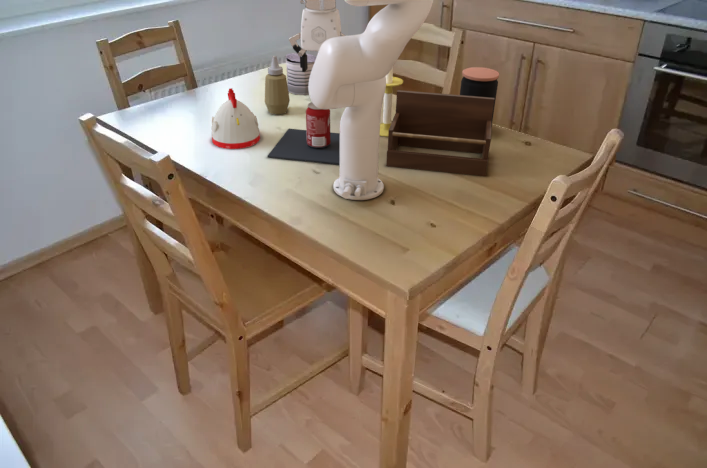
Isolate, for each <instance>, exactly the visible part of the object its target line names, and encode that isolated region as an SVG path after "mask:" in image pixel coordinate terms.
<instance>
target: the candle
mask: <svg viewBox="0 0 707 468" xmlns="http://www.w3.org/2000/svg"><path fill="white" fill-rule="evenodd" d="M403 84H404V80H403V79H402V78H400V77H398V76H394V67H393V68H392V69H391V71H390V72H389V73H388V74H387V75H386V89H385V94H384V98H383V105H382V109H383V111H382V122H380V135H379V137H385V138H386V137H387V138H388V133H389V128H390V125H391V123H392V111H393V92H394V91H393V90H394V88H395V87H399V86H402V85H403Z"/></svg>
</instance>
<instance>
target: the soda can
mask: <svg viewBox="0 0 707 468" xmlns="http://www.w3.org/2000/svg"><path fill="white" fill-rule="evenodd" d="M305 127H306V128H305V130H306V133H307V145H309V146H310V147H312V148H316V149H321V148H325V147H327V146H329V145H330V132H331V109H319V108H317V107H316V106H315V105H314V104H313V103H312V101H311V102H309V103H308V104H307V108H306V110H305Z"/></svg>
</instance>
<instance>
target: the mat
mask: <svg viewBox="0 0 707 468" xmlns="http://www.w3.org/2000/svg"><path fill="white" fill-rule="evenodd" d="M267 158H268V159H277V160H287V161H295V162H305V163H316V164H324V165H334V166H340V132H331V131H330V145H329V146H327V147H325V148H321V149H316V148H312V147H310V146H309V145H307V133H306V129H299V128H298V129H297V128H288V129H287V130H286V131H285V133H284V134H283V135H282V136H281V138H280V139H279V140H278V142H277V143H276V144H275V146H274V147H273V148H272V149H271V151H270V152H269V153H268V154H267Z"/></svg>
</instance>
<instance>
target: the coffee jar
mask: <svg viewBox="0 0 707 468" xmlns="http://www.w3.org/2000/svg"><path fill="white" fill-rule="evenodd" d="M461 75H462V77H461V80H460V89H459V95H464V96H476V97H489V98H494V106H493V112H492V119H491V128H493V127H492V126H493V122H494V121H493V120H494V114H495V113H494V112H495V107H496V100H497V93H498V86H499V80H498V79H499V78H500V73H499V71H498V70H496V69H492V68H489V67H484V66H483V67H481V66H473V67H467V68H464V69H463V70H462V72H461Z"/></svg>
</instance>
